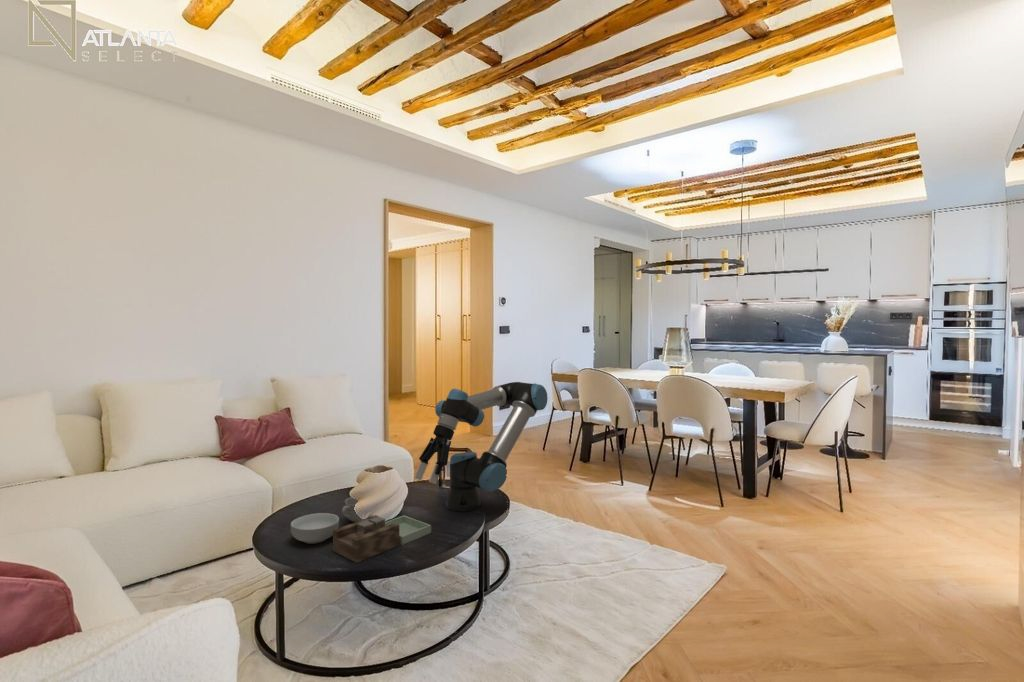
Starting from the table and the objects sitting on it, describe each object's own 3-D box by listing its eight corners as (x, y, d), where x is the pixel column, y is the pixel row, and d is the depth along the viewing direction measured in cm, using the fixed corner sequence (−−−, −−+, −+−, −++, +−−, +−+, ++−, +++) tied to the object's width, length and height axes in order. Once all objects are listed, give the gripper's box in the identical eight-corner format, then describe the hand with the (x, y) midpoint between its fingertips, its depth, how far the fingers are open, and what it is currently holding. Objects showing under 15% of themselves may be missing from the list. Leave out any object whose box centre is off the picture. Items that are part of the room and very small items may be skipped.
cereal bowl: (348, 534, 196) (348, 516, 196) (317, 552, 181) (316, 532, 180) (313, 527, 202) (313, 509, 202) (280, 544, 187) (280, 525, 187)
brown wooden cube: (366, 531, 187) (366, 520, 186) (373, 534, 184) (373, 523, 184) (357, 534, 183) (357, 523, 183) (364, 537, 181) (364, 526, 181)
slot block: (375, 534, 196) (375, 515, 195) (399, 544, 187) (399, 524, 187) (333, 551, 182) (332, 530, 181) (356, 562, 173) (356, 540, 173)
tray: (404, 522, 208) (404, 515, 208) (431, 532, 198) (431, 525, 198) (375, 533, 197) (375, 525, 197) (402, 545, 187) (402, 537, 187)
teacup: (362, 512, 218) (362, 493, 218) (377, 518, 212) (377, 499, 211) (332, 522, 208) (332, 502, 207) (347, 529, 201) (347, 508, 200)
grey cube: (378, 527, 190) (378, 516, 190) (385, 529, 188) (385, 519, 188) (369, 530, 187) (369, 519, 187) (376, 533, 185) (375, 522, 185)
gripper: (424, 423, 209) (403, 474, 201) (452, 424, 188) (430, 481, 181) (440, 430, 212) (420, 481, 205) (468, 432, 191) (447, 488, 184)
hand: (424, 481), depth 193 cm, fingers open, 13 cm apart
